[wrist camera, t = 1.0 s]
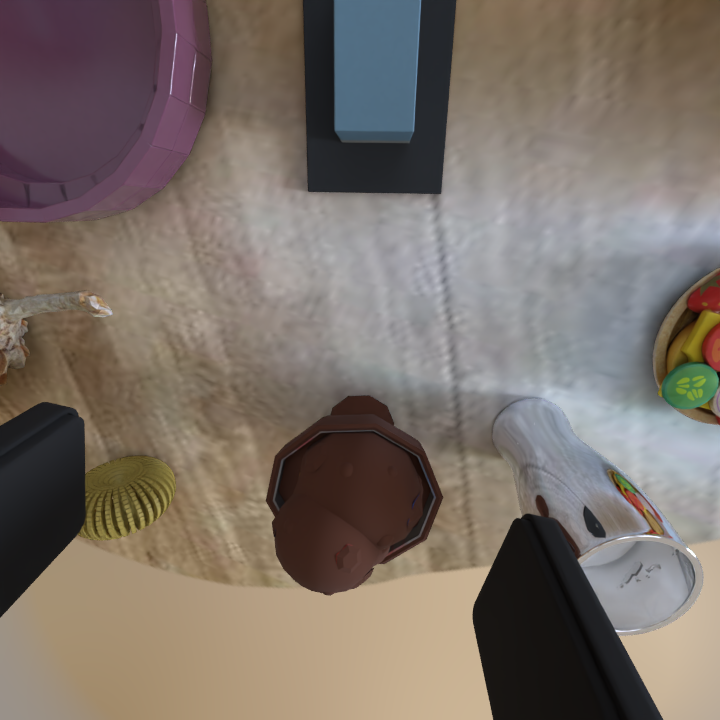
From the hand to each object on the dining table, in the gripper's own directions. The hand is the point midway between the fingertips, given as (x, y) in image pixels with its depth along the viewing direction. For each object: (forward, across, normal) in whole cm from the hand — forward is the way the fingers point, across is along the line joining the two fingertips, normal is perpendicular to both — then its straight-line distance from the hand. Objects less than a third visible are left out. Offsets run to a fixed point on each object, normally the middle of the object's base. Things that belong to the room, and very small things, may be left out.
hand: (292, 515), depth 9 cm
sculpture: (+24, +15, +20) cm, 34 cm away
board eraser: (+23, +2, -14) cm, 27 cm away
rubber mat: (+24, +2, -14) cm, 27 cm away
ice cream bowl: (+24, -3, +11) cm, 26 cm away
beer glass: (+24, -16, +8) cm, 30 cm away
